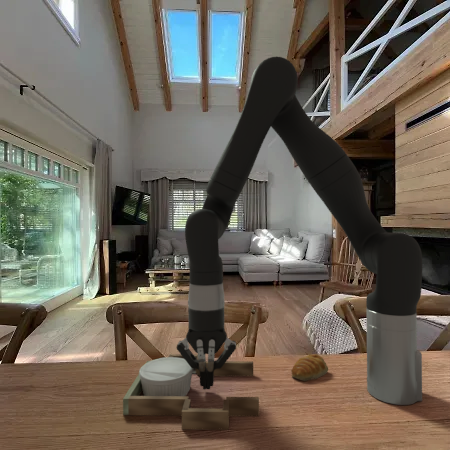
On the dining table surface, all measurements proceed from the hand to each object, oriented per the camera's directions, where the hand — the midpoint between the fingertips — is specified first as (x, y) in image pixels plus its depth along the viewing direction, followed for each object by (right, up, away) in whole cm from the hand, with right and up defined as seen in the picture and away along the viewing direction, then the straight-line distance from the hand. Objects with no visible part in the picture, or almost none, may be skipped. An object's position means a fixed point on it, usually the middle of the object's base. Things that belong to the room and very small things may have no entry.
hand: (206, 387), depth 68 cm
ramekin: (-8, -1, 0) cm, 9 cm away
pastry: (+24, -2, +9) cm, 25 cm away
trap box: (-2, -1, 0) cm, 2 cm away
